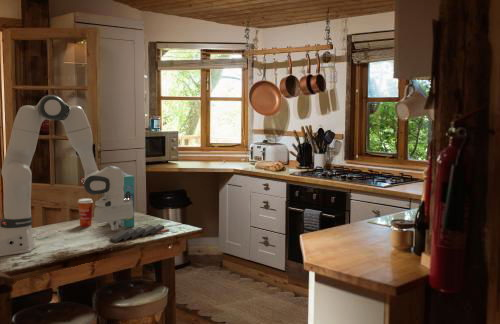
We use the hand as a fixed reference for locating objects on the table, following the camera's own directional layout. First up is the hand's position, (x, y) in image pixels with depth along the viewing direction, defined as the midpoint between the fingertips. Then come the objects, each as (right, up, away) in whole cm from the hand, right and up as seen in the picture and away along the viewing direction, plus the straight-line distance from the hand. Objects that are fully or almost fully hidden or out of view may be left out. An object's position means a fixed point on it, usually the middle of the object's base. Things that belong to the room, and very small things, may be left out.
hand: (114, 229), depth 260 cm
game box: (-5, -2, +39) cm, 39 cm away
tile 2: (+2, -5, +3) cm, 6 cm away
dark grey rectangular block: (-1, -5, 0) cm, 5 cm away
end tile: (+15, -4, +19) cm, 24 cm away
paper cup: (-23, -2, +32) cm, 39 cm away
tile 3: (+5, -4, +7) cm, 10 cm away
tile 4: (+10, -4, +12) cm, 16 cm away
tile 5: (+13, -3, +16) cm, 21 cm away
